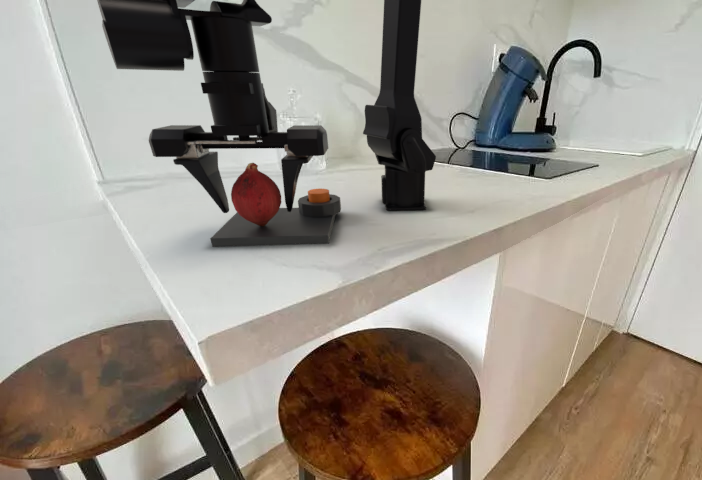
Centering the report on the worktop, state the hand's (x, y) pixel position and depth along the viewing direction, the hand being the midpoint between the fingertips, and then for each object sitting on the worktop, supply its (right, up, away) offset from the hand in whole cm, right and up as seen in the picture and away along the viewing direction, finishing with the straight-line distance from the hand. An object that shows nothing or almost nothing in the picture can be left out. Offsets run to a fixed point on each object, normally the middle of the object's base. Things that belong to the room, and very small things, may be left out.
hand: (258, 211), depth 47 cm
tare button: (+6, +3, +6) cm, 9 cm away
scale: (+2, -2, +3) cm, 4 cm away
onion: (0, -2, +1) cm, 2 cm away
